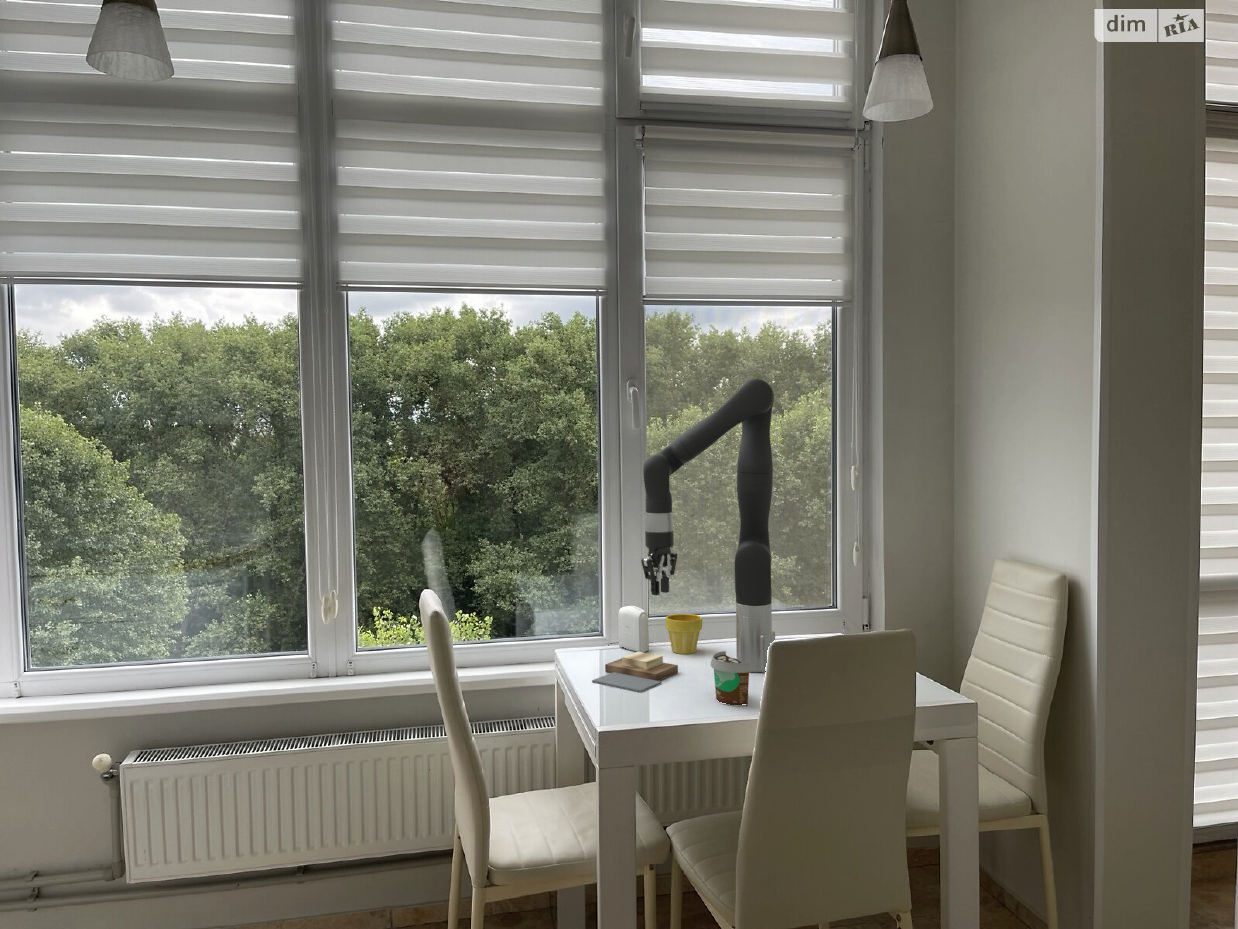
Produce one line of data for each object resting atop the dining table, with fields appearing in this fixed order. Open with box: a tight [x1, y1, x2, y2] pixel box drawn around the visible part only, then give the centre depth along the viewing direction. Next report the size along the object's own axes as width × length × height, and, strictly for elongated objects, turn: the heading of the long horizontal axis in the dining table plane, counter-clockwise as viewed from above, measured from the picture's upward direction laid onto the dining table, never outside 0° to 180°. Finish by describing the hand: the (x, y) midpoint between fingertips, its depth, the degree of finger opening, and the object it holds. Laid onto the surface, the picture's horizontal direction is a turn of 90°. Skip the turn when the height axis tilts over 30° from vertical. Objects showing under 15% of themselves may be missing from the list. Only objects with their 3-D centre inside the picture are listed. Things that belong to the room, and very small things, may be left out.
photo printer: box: [617, 605, 650, 653], centre depth 246 cm, size 10×4×12 cm, turn 39°
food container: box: [710, 650, 752, 706], centre depth 197 cm, size 12×6×10 cm, turn 21°
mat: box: [591, 672, 663, 694], centre depth 213 cm, size 15×9×1 cm, turn 52°
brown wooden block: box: [604, 658, 679, 681], centre depth 222 cm, size 16×10×2 cm, turn 52°
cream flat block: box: [621, 651, 664, 670], centre depth 222 cm, size 8×7×2 cm
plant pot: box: [665, 613, 703, 655], centre depth 243 cm, size 10×10×10 cm
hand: (660, 593), depth 229 cm, fingers open, 3 cm apart
